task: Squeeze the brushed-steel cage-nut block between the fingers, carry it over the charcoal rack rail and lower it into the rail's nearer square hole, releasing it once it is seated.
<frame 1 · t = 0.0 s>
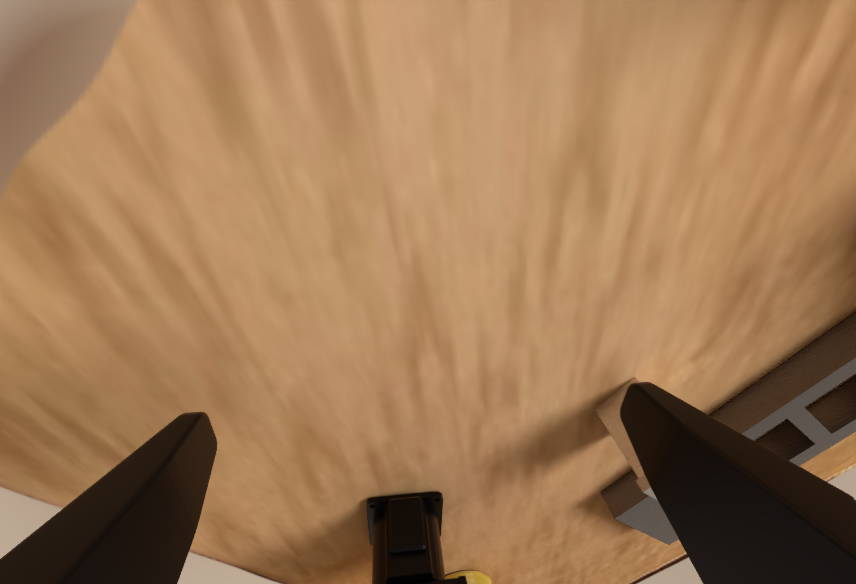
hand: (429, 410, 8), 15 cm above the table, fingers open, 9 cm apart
rack rail: (745, 427, 34), on the table
plant pot: (461, 583, 43), on the table
cage nut: (628, 403, 31), on the table
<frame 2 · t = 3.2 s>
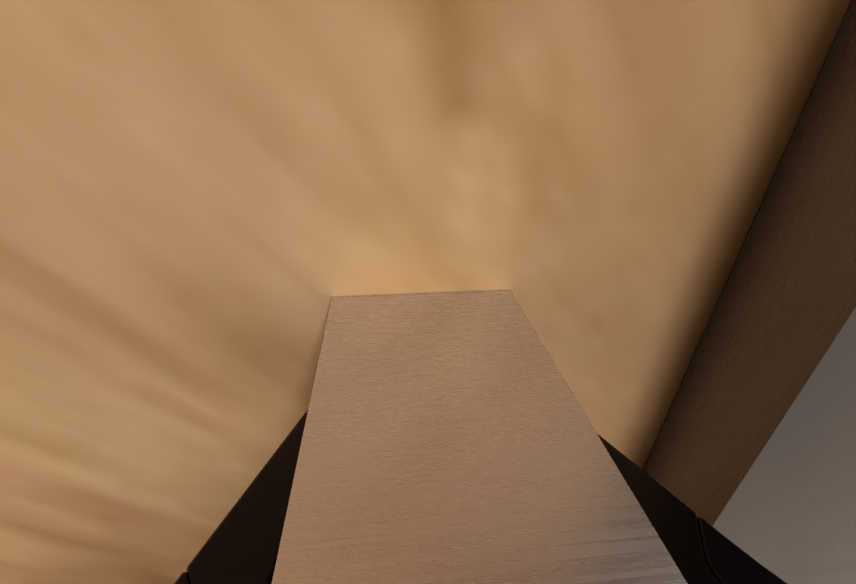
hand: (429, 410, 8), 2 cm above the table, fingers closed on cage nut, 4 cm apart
cage nut: (422, 363, 10), on the table, touching gripper
when the fingers open (3 cm above the table, at t = 6.6 s): cage nut drops 2 cm, resting in rack rail.
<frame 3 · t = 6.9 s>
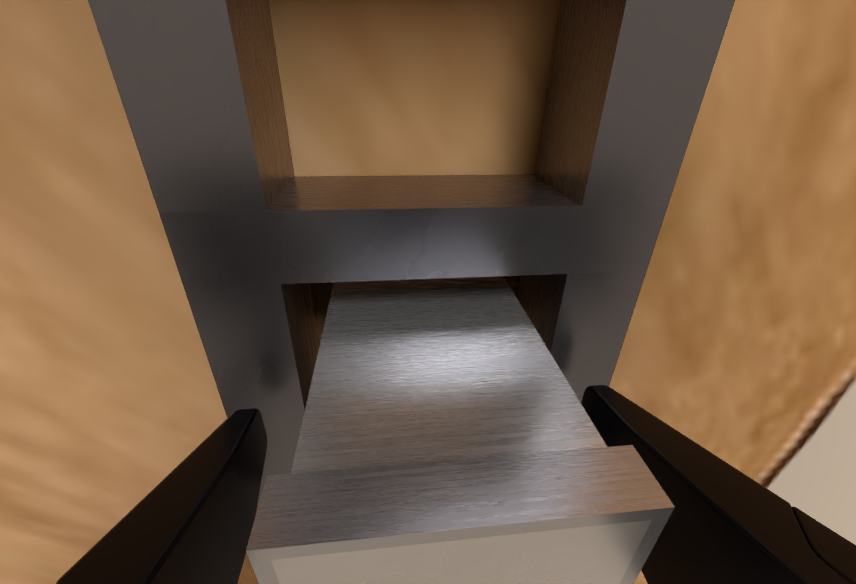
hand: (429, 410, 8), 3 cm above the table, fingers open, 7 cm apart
rack rail: (417, 325, 11), on the table
cage nut: (416, 323, 11), resting in rack rail
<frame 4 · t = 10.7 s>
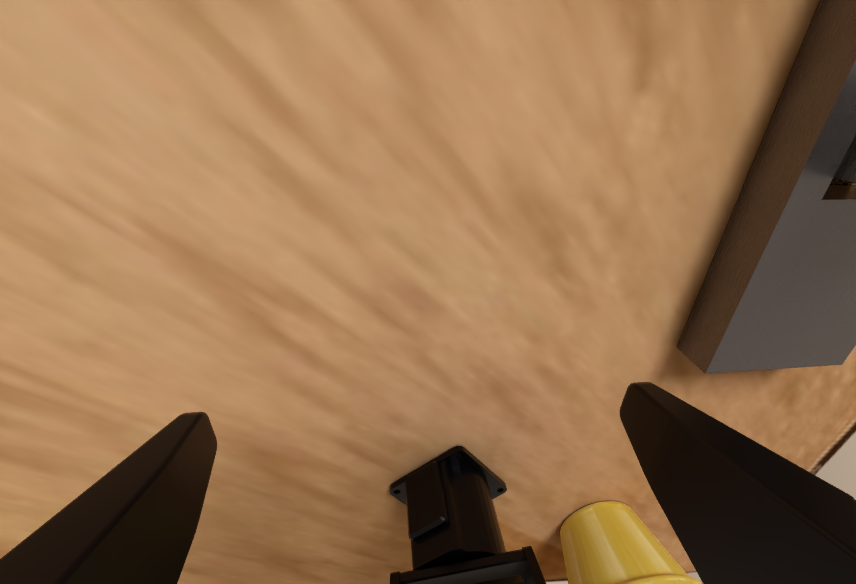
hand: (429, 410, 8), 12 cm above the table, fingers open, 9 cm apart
rack rail: (851, 127, 19), on the table
plant pot: (594, 520, 34), on the table
cage nut: (850, 126, 19), resting in rack rail
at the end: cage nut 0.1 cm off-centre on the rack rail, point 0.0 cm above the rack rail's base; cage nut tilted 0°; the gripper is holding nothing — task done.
